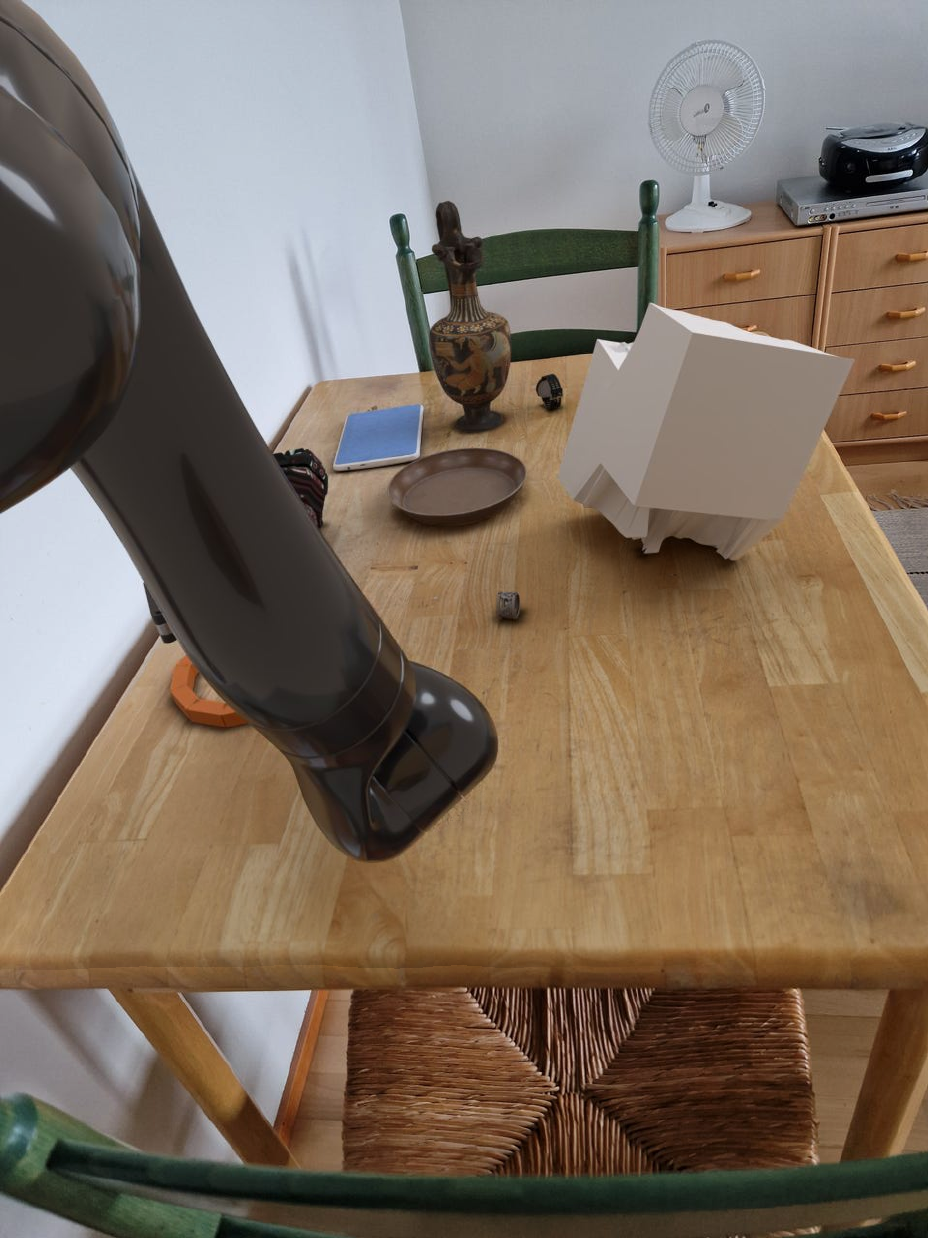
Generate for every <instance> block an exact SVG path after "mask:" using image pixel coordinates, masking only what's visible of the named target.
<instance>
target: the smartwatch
mask: <svg viewBox="0 0 928 1238" xmlns="http://www.w3.org/2000/svg"><path fill="white" fill-rule="evenodd" d="M535 392H536V394H537V397H539V398H541V401H542V402H543V404H544V405H545V407H546V408H547V410H549V411H550V410H554V409H559V408H560V407H561V405H562V398H563V397H564V390H563V387H562V385H561V382H560V380H559V378H558V377H557V375H556V374H555V373H551V374H550V373H549V374H546V375H543V376H541V378H540V379H539V380H538V381H537V384H536V385H535Z"/></svg>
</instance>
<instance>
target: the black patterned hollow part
mask: <svg viewBox="0 0 928 1238" xmlns="http://www.w3.org/2000/svg"><path fill="white" fill-rule="evenodd" d="M272 454H273V456H274V457H275V459H276V461H277V463H278V464H279V466H280V467H281V469H282V471H283V472H284V474H285V476H286V477H287V479H288V480H289V482H290V484H291V485H292V487H293V489H294V490H295V492H296V493H297V495H298V497H299V498H300V500H301V501H302V503H303V504H304V506H305V508H306V509H307V511H308V512H309V514H310V515H311V517H312V518H313V520H314V522H315V523H316V525H317V526H318V528H319V529H320V530H321V528H322V526H323V525H324V521H323V517H324V514H323V511H324V507H325V500H326V496H327V495H328V494H329V493H328V491H329V476H328V474H327V471H326V468H325V467H324V465H323V462H322V461H321V460H320V459H319V458H318V457H317V455H315V453H314V452H313V451H311V450H310V449H309V448H304V447H299V448H295V449H287V450H285V453H283V452H274V453H272Z"/></svg>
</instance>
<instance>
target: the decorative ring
mask: <svg viewBox="0 0 928 1238" xmlns="http://www.w3.org/2000/svg"><path fill="white" fill-rule="evenodd" d="M495 603H496V605H495V606H496V607H495V608H496V609H495V610H496V615H497V618H498V619H500V620H502V619H503V618H505V619H511V620H513V619H514V620H518V618H519V615H520V611H521V598H520V592H518V591H517V590H516V591H505V592H504V591H503V590H498V591H497V595H496V602H495Z"/></svg>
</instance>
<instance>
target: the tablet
mask: <svg viewBox="0 0 928 1238" xmlns="http://www.w3.org/2000/svg"><path fill="white" fill-rule="evenodd" d="M424 407H425V406H424V405H423V404H419V403H416V404H411V405H410V404H409V405H402V406H394V407H387V408H381V409H375V410H368V411H361V412H355V413H350V414H348V415H346V418H345V422H344V424H343V429H342V431H341V436H340V439H339V443H338V447H337V449H336V452H335V457H334V460H333V464H332V468H333V470H334V471H337V472H342V471H354V470H364V469H371V468H379V467H380V468H381V467H385V466H391V465H392V466H393V465H397V464H403V463H409V462H414V461H416V460H418V459H420V456H421V442H422V431H423V419H424V411H425V408H424Z"/></svg>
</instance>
